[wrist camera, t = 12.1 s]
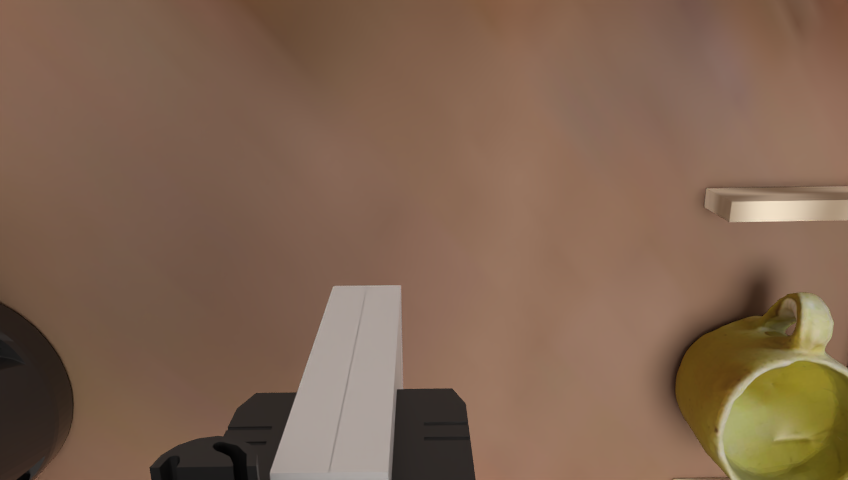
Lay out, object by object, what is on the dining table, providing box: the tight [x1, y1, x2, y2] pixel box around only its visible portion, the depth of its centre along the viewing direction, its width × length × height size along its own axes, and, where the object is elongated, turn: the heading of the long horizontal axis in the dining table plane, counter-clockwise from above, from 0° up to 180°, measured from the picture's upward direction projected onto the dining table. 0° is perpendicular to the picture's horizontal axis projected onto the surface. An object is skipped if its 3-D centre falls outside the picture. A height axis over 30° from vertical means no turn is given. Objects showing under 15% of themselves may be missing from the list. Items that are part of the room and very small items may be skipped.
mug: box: [675, 293, 848, 480], centre depth 41 cm, size 12×10×10 cm
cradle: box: [673, 186, 848, 480], centre depth 43 cm, size 12×22×4 cm, turn 1°
